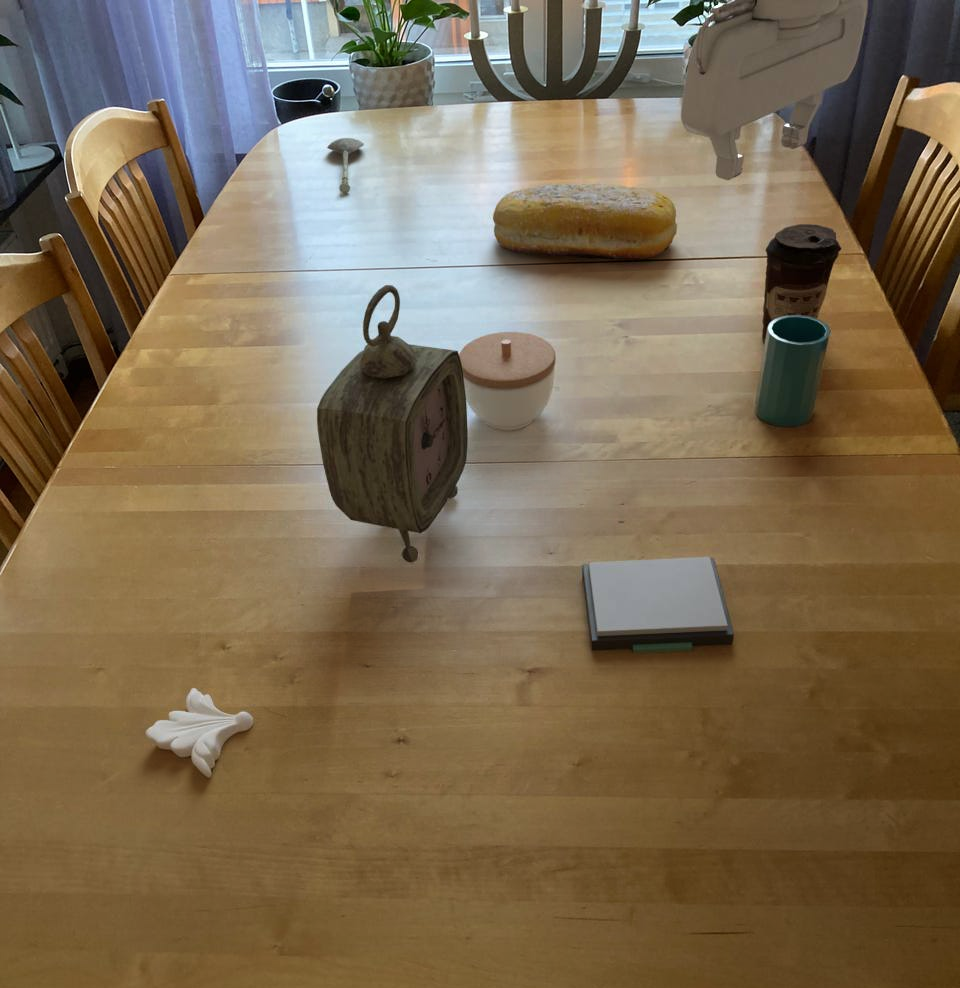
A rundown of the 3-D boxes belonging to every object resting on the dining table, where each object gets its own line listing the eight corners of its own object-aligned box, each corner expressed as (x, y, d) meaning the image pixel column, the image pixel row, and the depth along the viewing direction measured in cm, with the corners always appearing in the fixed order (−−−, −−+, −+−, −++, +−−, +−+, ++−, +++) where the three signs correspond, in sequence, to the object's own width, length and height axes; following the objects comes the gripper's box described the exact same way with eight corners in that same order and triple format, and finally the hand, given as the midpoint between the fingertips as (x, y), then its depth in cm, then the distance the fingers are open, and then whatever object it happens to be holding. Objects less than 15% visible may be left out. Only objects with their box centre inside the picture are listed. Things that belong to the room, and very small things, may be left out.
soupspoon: (366, 149, 181) (330, 153, 181) (362, 129, 179) (326, 133, 179) (364, 191, 165) (325, 196, 165) (360, 169, 163) (320, 175, 163)
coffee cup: (830, 355, 121) (852, 249, 112) (760, 358, 121) (776, 253, 112) (814, 320, 127) (833, 217, 118) (747, 323, 127) (762, 221, 118)
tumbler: (805, 394, 115) (821, 313, 108) (819, 425, 111) (837, 342, 103) (749, 397, 115) (762, 316, 108) (761, 428, 111) (774, 346, 104)
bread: (669, 271, 139) (673, 213, 133) (484, 261, 144) (481, 205, 139) (679, 230, 148) (683, 175, 142) (504, 222, 153) (502, 168, 148)
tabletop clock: (420, 577, 96) (388, 339, 79) (336, 559, 99) (287, 325, 81) (473, 489, 106) (455, 259, 88) (395, 476, 108) (362, 249, 91)
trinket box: (506, 453, 110) (502, 378, 103) (443, 416, 116) (436, 342, 109) (575, 415, 115) (576, 340, 108) (511, 381, 121) (509, 308, 114)
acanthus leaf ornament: (209, 781, 80) (203, 767, 79) (141, 756, 83) (134, 741, 81) (261, 714, 85) (256, 700, 84) (195, 692, 87) (189, 678, 86)
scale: (710, 582, 94) (714, 552, 91) (730, 663, 86) (736, 633, 84) (581, 588, 94) (582, 558, 91) (591, 669, 87) (592, 640, 84)
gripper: (735, 17, 74) (715, 206, 84) (890, -40, 83) (856, 137, 93) (669, 4, 78) (657, 187, 87) (825, -49, 87) (798, 122, 96)
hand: (761, 161), depth 90 cm, fingers open, 8 cm apart
